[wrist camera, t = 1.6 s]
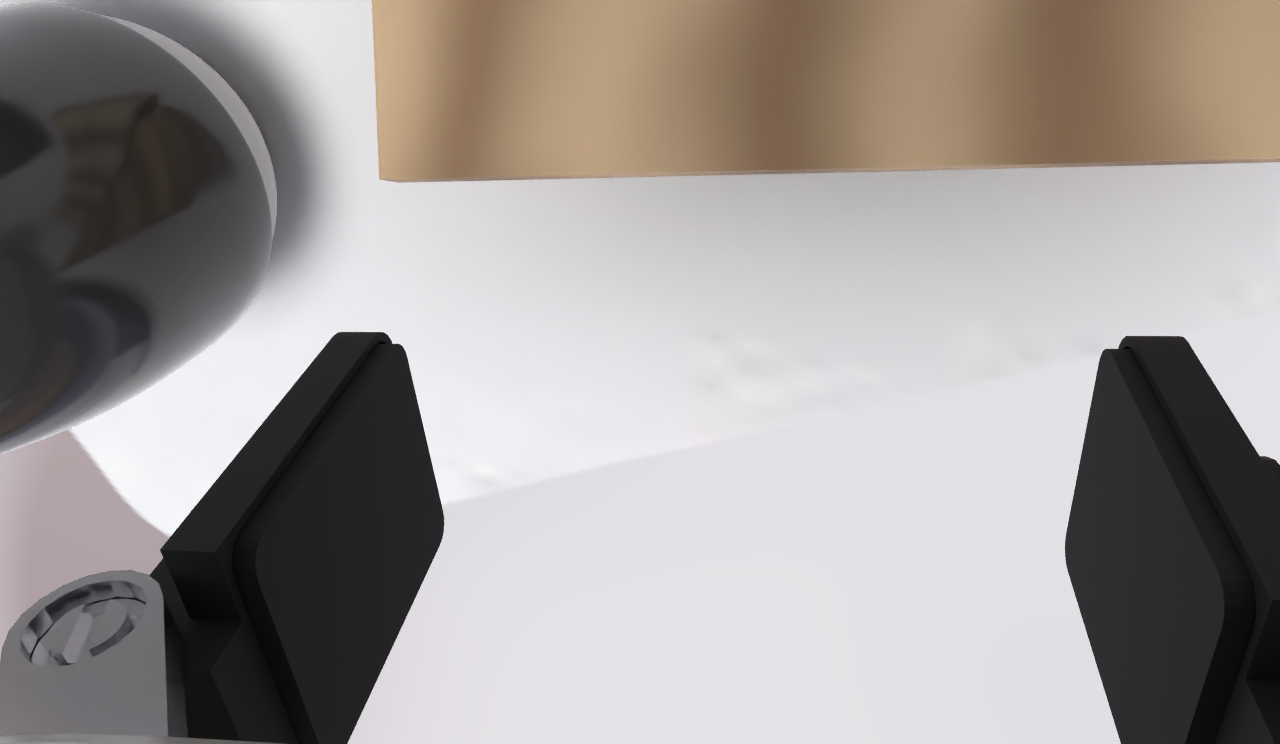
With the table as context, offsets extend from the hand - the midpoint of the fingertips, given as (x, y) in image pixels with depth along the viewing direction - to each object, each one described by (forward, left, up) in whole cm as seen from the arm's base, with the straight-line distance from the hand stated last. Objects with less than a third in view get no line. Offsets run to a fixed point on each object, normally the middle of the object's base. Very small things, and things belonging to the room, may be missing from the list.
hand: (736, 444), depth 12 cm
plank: (-1, -2, -16) cm, 16 cm away
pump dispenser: (+19, +2, -18) cm, 26 cm away
